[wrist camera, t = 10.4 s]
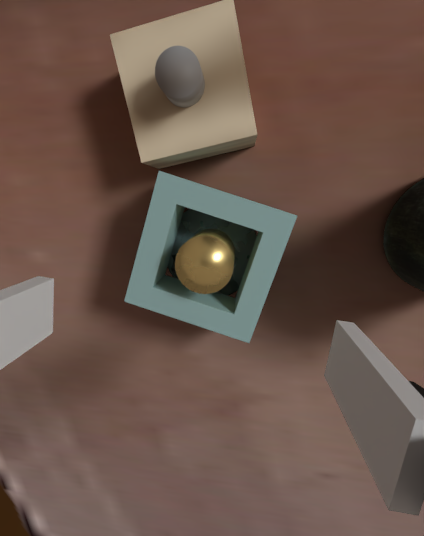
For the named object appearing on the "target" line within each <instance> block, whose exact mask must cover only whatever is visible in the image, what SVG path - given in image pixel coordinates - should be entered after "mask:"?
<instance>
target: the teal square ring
mask: <svg viewBox="0 0 424 536" xmlns="http://www.w3.org/2000/svg"><path fill="white" fill-rule="evenodd" d="M185 207H187V208H190V209H193V210H196V211H199V212H202V213H205V214H208V215H211V216H214V217H217V218H220V219H224V220H227V221H230V222H233V223H236V224H239V225H242V226H245V227H248V228H251V229H254V230H257V231H259V232H258V235H257V238H256V240H255V243H254V246H253V249H252V252H251V255H250V257H249V260H248V263H247V266H246V269H245V272H244V274H243V277H242V280H241V283H240V286H239V289H238V291H237V294H236V297H235V298H233V297H230V296H227V295H224V294H221V293H218V292H214V293H210V294H199V293H196V292H193V291H191V290H189V289H188V288H186V287H185V286H184V285H183V284H182V283H181V282H180V280H179V279H176V278H173V277H170V276H167V275H165V273H166V270H167V267H168V263H169V260H170V256H171V253H172V249H173V246H174V243H175V239H176V236H177V232H178V229H179V225H180V222H181V219H182V215H183V212H184V208H185ZM296 218H297V215H294V214H290V213H287V212H284V211H281V210H278V209H275V208H272V207H269V206H266V205H263V204H260V203H257V202H254V201H251V200H248V199H244V198H241V197H238V196H235V195H232V194H229V193H226V192H223V191H220V190H217V189H214V188H211V187H208V186H205V185H202V184H199V183H195V182H192V181H189V180H186V179H183V178H180V177H177V176H174V175H171V174H168V173H165V172H162V171H159V172H158V176H157V180H156V183H155V187H154V191H153V195H152V199H151V202H150V206H149V210H148V214H147V217H146V221H145V225H144V229H143V232H142V236H141V240H140V244H139V248H138V251H137V255H136V259H135V263H134V266H133V270H132V274H131V278H130V281H129V285H128V289H127V293H126V296H125V300H124V301H125V302H127V303H130V304H133V305H136V306H139V307H142V308H145V309H148V310H151V311H154V312H157V313H160V314H163V315H166V316H169V317H172V318H175V319H178V320H181V321H184V322H187V323H190V324H193V325H196V326H199V327H202V328H205V329H208V330H211V331H214V332H217V333H220V334H223V335H226V336H229V337H232V338H235V339H238V340H241V341H244V342H247V343H250V340H251V337H252V335H253V332H254V329H255V327H256V324H257V321H258V319H259V316H260V313H261V311H262V308H263V306H264V303H265V300H266V298H267V295H268V292H269V290H270V287H271V284H272V282H273V279H274V276H275V274H276V271H277V268H278V266H279V263H280V260H281V258H282V255H283V252H284V250H285V247H286V244H287V242H288V239H289V237H290V234H291V231H292V229H293V226H294V223H295V221H296Z"/></svg>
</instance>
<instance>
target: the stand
mask: <svg viewBox="0 0 424 536" xmlns="http://www.w3.org/2000/svg"><path fill="white" fill-rule="evenodd" d="M110 37H111V42H112V46H113V50H114V54H115V58H116V62H117V66H118V70H119V74H120V78H121V82H122V86H123V90H124V94H125V98H126V102H127V106H128V110H129V114H130V118H131V123H132V127H133V131H134V135H135V139H136V143H137V147H138V151H139V155H140V159H141V163H143V164H146V165H149V166H152V167H155V168H157V169H161V168H165V167H169V166H173V165H177V164H182V163H186V162H190V161H194V160H198V159H202V158H207V157H211V156H215V155H219V154H223V153H228V152H232V151H236V150H240V149H244V148H248V147H253V146H254V145H255V141H256V138H257V130H256V125H255V119H254V113H253V108H252V102H251V96H250V91H249V85H248V79H247V74H246V68H245V63H244V57H243V51H242V46H241V40H240V34H239V29H238V23H237V17H236V12H235V6H234V0H223V1H220V2H216V3H213V4H210V5H206V6H203V7H200V8H197V9H193V10H190V11H187V12H183V13H180V14H177V15H173V16H170V17H167V18H164V19H160V20H157V21H154V22H150V23H147V24H144V25H140V26H137V27H134V28H130V29H127V30H124V31H121V32H117V33H114V34H111V35H110Z"/></svg>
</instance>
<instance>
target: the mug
mask: <svg viewBox="0 0 424 536" xmlns="http://www.w3.org/2000/svg"><path fill="white" fill-rule="evenodd" d="M384 250H385V254H386V257H387V260H388V262H389V264H390V266H391V268H392V269H393V270H394V272H395V273H396V274H397V275H398V276H399V277H400V278H401V279H403V280H404V281H405V282H407V283H408V284H410V285H412V286H414V287H416V288H418V289H420V290H422V291H424V179H423V180H421V181H419V182H417V183H416V184H415V185H413V186H412V187H411V188H410V189H408V190H407V191H406V192H405V193H404V194H403V195H402V196H401V197H400V199H399V200H398V201H397V203H396V204H395V205H394V207H393V209H392V211H391V213H390V214H389V217H388V220H387V222H386V225H385V231H384Z"/></svg>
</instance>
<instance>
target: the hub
mask: <svg viewBox="0 0 424 536" xmlns="http://www.w3.org/2000/svg"><path fill="white" fill-rule="evenodd" d="M256 238H257V236H256V234H255V231H254V229H251V228H248V227H245V226H242V225H239V224H236V223H233V222H230V221H227V220H224V219H220V218H217V217H214V216H211V215H208V214H205V213H202V212H199V211H196V210H193V209H189V210H187V211H186V212H184V213H183V215H182V219H181V222H180V225H179V229H178V232H177V236H176V239H175V243H174V246H173V249H172V253H171V256H170V260H169V263H168V268H169V271H170V273H171V274H172V276H173V277H174V278H176V279H179V280H180V282H181V283H182V284H183V285H184V286H185V287H186V288H188V289H189V290H191V291H193V292H196V293H199V294H210V293H214V292H218V293H221V294H224V295H230V294H232V293H234V292H236V291H238V289H239V286H240V283H241V280H242V277H243V274H244V272H245V269H246V266H247V263H248V260H249V257H250V255H251V252H252V249H253V246H254V243H255V240H256Z"/></svg>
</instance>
